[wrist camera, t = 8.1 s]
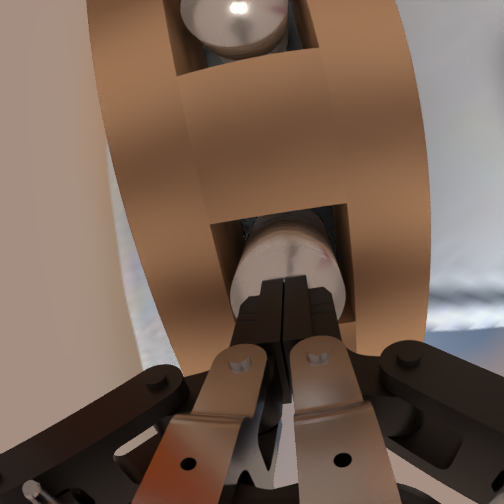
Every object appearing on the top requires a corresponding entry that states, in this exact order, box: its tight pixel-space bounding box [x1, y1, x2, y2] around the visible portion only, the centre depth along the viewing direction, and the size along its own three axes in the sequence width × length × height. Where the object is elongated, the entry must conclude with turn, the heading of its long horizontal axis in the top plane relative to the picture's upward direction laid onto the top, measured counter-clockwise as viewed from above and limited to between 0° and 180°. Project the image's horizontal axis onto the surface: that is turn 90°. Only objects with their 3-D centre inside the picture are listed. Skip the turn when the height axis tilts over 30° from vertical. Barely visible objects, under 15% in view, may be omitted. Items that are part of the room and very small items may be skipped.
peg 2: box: [230, 209, 345, 320], centre depth 14 cm, size 4×4×6 cm
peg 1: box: [180, 0, 288, 63], centre depth 12 cm, size 4×4×6 cm
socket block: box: [86, 0, 431, 377], centre depth 14 cm, size 22×12×6 cm, turn 11°
